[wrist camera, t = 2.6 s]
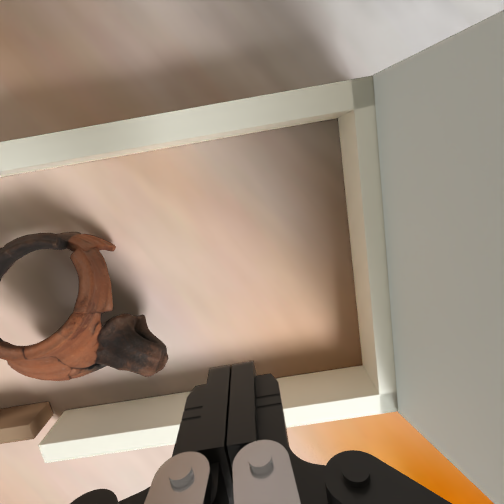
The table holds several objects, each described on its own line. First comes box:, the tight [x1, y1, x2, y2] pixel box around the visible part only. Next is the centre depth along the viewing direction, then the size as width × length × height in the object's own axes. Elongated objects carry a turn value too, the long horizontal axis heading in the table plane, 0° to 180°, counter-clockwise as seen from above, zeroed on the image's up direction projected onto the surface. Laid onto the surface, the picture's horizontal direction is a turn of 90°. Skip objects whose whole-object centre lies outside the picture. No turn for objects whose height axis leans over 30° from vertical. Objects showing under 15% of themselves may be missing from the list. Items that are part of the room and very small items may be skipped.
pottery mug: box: [0, 232, 168, 381], centre depth 22 cm, size 12×10×8 cm
